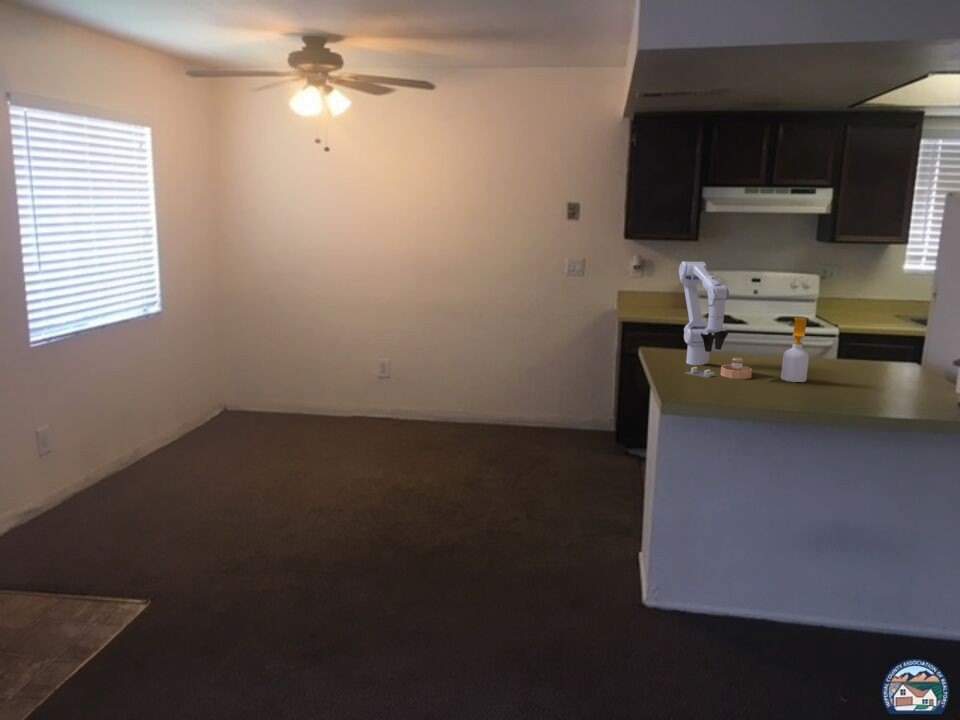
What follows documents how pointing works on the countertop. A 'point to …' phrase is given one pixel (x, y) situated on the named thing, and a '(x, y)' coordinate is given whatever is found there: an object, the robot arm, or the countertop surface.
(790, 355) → the soap bottle
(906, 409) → the countertop surface
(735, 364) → the battery cell
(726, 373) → the cup
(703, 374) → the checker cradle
